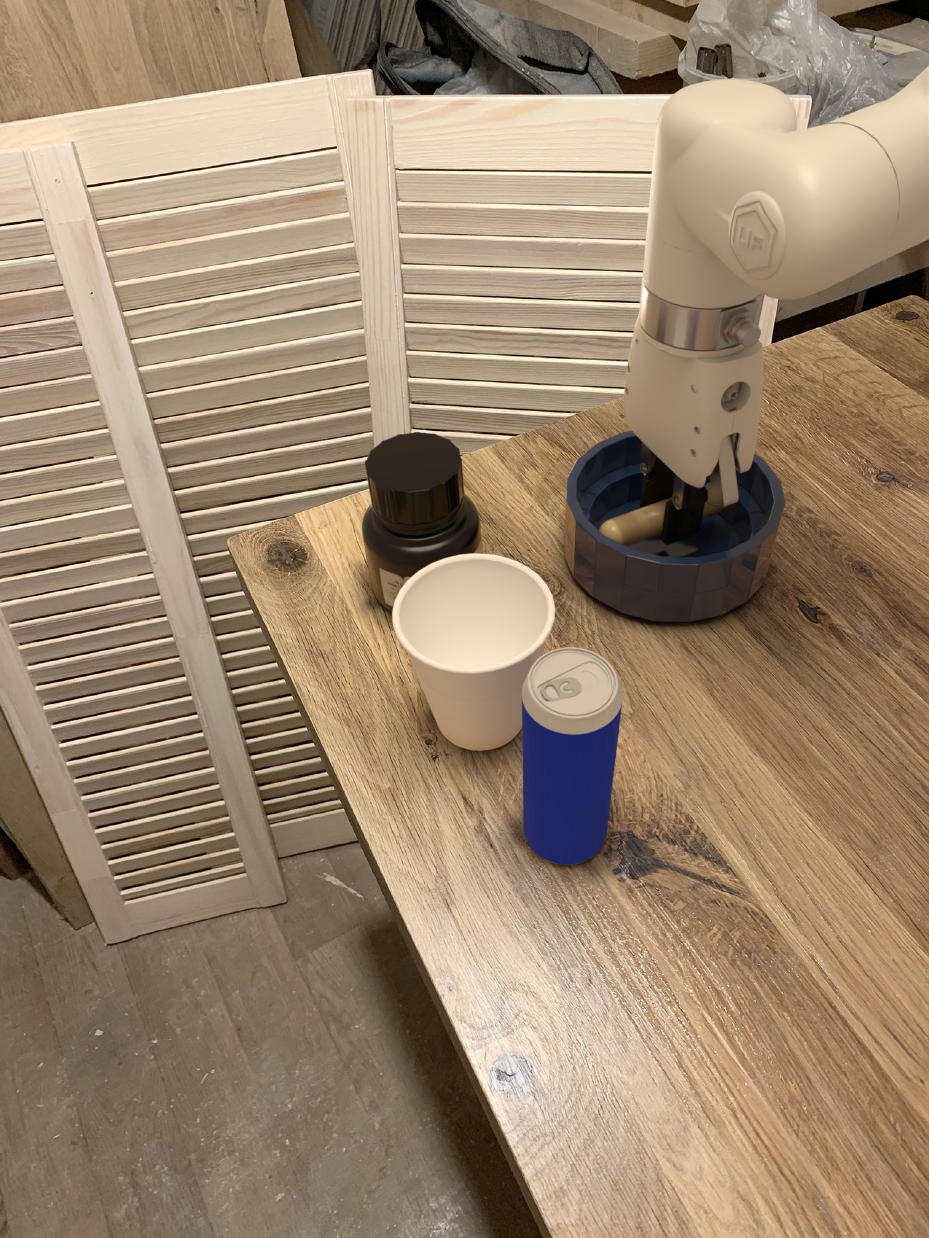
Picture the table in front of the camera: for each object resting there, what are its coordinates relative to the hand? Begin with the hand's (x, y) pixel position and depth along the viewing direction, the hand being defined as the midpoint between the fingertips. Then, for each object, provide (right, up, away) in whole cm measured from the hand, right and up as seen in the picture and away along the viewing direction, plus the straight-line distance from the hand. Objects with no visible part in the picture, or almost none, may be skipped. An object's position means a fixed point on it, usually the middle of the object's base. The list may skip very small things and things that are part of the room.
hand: (669, 524), depth 72 cm
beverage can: (-10, -21, -14) cm, 27 cm away
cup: (-15, -14, -8) cm, 22 cm away
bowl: (0, -2, +2) cm, 3 cm away
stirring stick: (0, 0, 0) cm, 0 cm away
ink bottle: (-19, -5, +2) cm, 19 cm away
